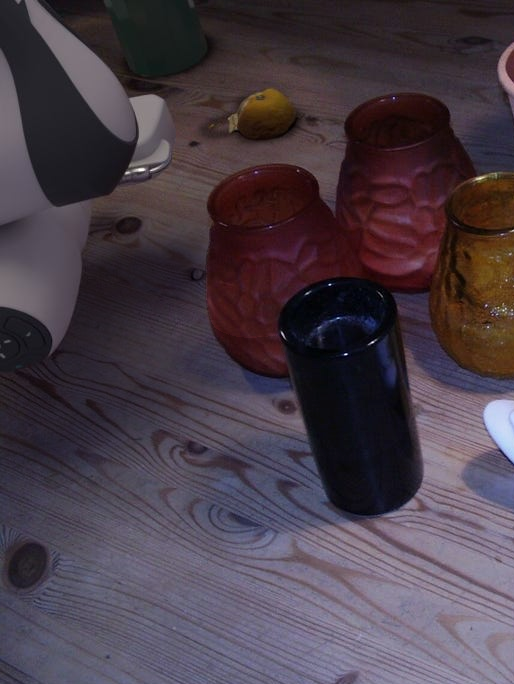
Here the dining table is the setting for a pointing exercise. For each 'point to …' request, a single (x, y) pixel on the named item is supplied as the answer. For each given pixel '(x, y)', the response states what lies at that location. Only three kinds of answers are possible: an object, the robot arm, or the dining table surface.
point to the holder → (158, 34)
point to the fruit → (263, 115)
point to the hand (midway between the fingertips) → (52, 101)
